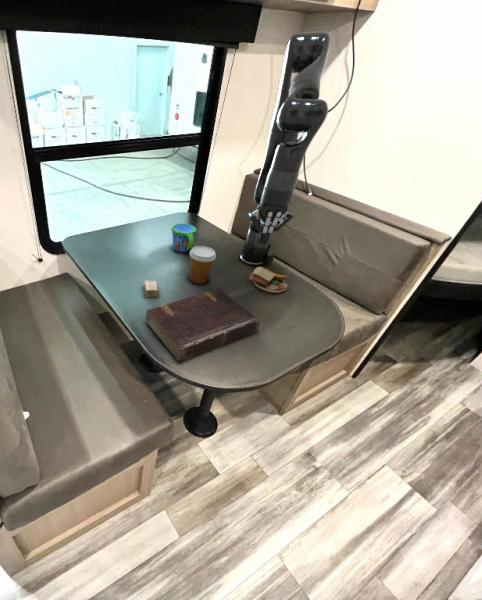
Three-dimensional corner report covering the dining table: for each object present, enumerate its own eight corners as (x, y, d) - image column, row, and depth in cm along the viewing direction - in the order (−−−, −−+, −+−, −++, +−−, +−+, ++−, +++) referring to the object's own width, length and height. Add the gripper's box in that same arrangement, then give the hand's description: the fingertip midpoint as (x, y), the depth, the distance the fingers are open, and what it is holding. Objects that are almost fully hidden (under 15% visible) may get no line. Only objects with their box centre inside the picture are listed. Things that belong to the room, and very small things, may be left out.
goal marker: (155, 287, 116) (155, 280, 114) (156, 297, 111) (157, 290, 109) (144, 287, 116) (144, 280, 114) (145, 297, 111) (146, 290, 109)
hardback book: (179, 362, 87) (182, 349, 84) (145, 322, 100) (147, 310, 97) (256, 332, 98) (260, 320, 95) (216, 299, 111) (219, 288, 108)
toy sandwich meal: (276, 298, 113) (280, 287, 110) (243, 282, 121) (246, 272, 118) (291, 286, 120) (296, 275, 117) (259, 271, 128) (262, 261, 125)
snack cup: (164, 242, 147) (166, 221, 141) (185, 240, 149) (188, 220, 143) (175, 258, 135) (178, 236, 129) (198, 256, 137) (202, 234, 131)
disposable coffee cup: (210, 287, 117) (216, 259, 110) (184, 283, 119) (189, 255, 112) (210, 274, 125) (216, 247, 118) (186, 271, 126) (190, 244, 119)
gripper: (296, 181, 89) (277, 237, 99) (251, 181, 88) (236, 237, 98) (310, 190, 83) (288, 248, 93) (261, 190, 82) (245, 249, 92)
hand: (261, 243), depth 96 cm, fingers closed
